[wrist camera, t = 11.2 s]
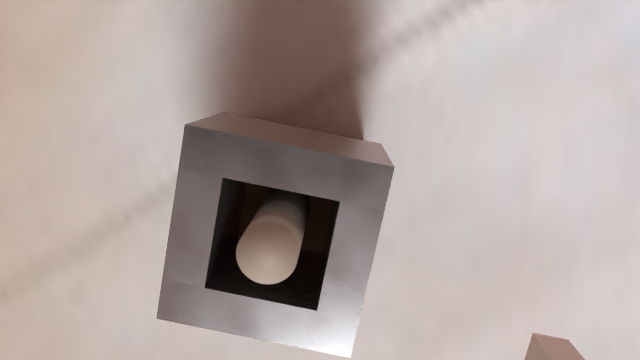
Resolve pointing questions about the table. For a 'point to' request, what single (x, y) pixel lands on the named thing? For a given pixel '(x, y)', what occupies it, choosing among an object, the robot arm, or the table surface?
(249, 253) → the wooden peg stand
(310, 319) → the grey hollow square block
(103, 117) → the table surface
